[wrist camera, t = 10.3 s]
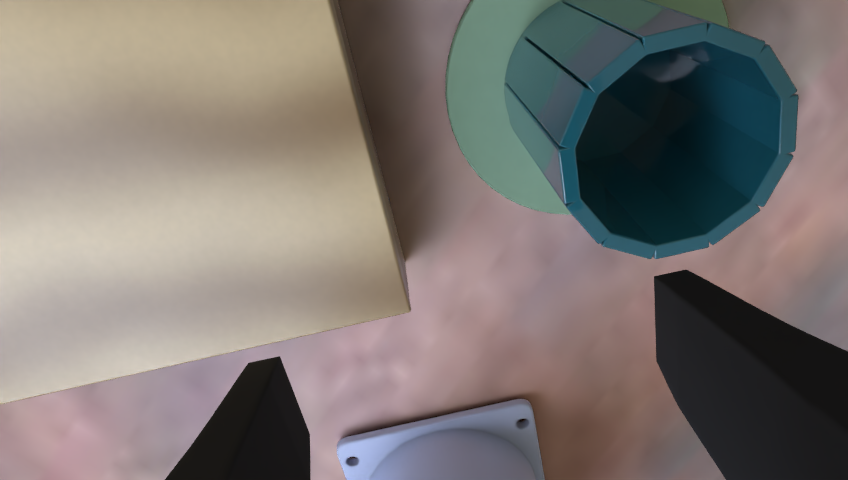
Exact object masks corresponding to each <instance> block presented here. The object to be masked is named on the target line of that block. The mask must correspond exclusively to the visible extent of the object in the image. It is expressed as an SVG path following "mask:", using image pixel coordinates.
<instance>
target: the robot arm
mask: <svg viewBox="0 0 848 480" xmlns="http://www.w3.org/2000/svg"><path fill="white" fill-rule="evenodd" d="M654 291H655V325H656V359H657V363H658V365H659V367H660V369H661V371H662V374H663V376H664V378H665V380H666V382H667V384H668V386H669V388H670V390H671V392H672V394H673V396H674V399H675V401H676V403H677V405H678V406H679V408H680V410H681V411H682V413H683V414H684V416H685V418H686V419H687V421H688V422H689V424H690V425H691V427H692V428H693V430H694V431H695V433H696V435H697V436H698V438H699V439H700V441H701V442H702V444H703V445H704V447H705V448H706V450H707V451H708V453H709V454H710V456H711V457H712V459H713V460H714V462H715V463H716V465H717V467H718V468H719V470H720V471H721V473H722V474H723V476H724V477H725V479H726V480H848V351H845V350H843V349H841V348H839V347H836V346H834V345H832V344H830V343H828V342H825V341H823V340H821V339H819V338H817V337H814V336H812V335H810V334H808V333H806V332H804V331H802V330H800V329H797V328H795V327H793V326H791V325H789V324H787V323H785V322H783V321H781V320H779V319H777V318H775V317H774V316H772V315H770V314H768V313H766V312H764V311H762V310H760V309H758V308H756V307H755V306H753V305H751V304H749V303H747V302H745V301H743V300H742V299H740V298H738V297H736V296H734V295H732V294H731V293H729V292H727V291H725V290H723V289H722V288H720V287H718V286H716V285H714V284H713V283H711V282H709V281H707V280H705V279H703V278H702V277H700V276H698V275H696V274H694V273H692V272H690V271H688V270H682V271H677V272H673V273H668V274H663V275H659V276H654ZM520 419H525V420H524V421H522V422H518V420H520ZM337 455H338V458H339V461H340V463H341V466H342V469H343V471H344V474H345V477H346V480H545V477H544V472H543V466H542V460H541V454H540V449H539V443H538V437H537V431H536V425H535V420H534V414H533V409H532V406H531V404H530V402H529V401H527V400H525V399H515V400H511V401H506V402H502V403H497V404H493V405H488V406H484V407H479V408H475V409H470V410H466V411H461V412H457V413H452V414H448V415H443V416H439V417H434V418H430V419H425V420H421V421H416V422H412V423H407V424H403V425H398V426H394V427H389V428H385V429H380V430H376V431H371V432H367V433H362V434H358V435H353V436H349V437H345V438H343V439H341V440H340V441H339V442H338V444H337ZM349 457H357V458H355V459H350V458H349ZM165 480H310V434H309V431H308V429H307V426H306V423H305V421H304V418H303V416H302V413H301V410H300V408H299V405H298V403H297V400H296V397H295V395H294V392H293V390H292V387H291V384H290V382H289V379H288V377H287V374H286V371H285V369H284V366H283V364H282V361H281V358H280V356H279V357H275V358H270V359H265V360H260V361H256V362H251V363H248V365H247V366H246V367H245V369H244V370H243V372H242V373H241V375H240V376H239V377H238V379H237V380H236V382H235V383H234V385H233V386H232V388H231V389H230V391H229V392H228V394H227V395H226V397H225V398H224V399H223V401H222V402H221V404H220V405H219V407H218V408H217V410H216V411H215V413H214V414H213V416H212V417H211V419H210V420H209V421H208V423H207V424H206V426H205V427H204V428H203V430H202V431H201V433H200V434H199V436H198V437H197V438H196V440H195V441H194V443H193V444H192V445H191V447H190V448H189V449H188V451H187V452H186V453H185V455H184V456H183V457H182V458H181V460H180V461H179V462H178V464H177V465H176V466H175V467H174V469H173V470H172V471H171V473H170V474H169V475H168V476H167V478H166V479H165Z"/></svg>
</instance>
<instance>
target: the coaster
mask: <svg viewBox="0 0 848 480" xmlns="http://www.w3.org/2000/svg"><path fill="white" fill-rule="evenodd" d="M558 1H560V0H471V1H470V3H469V5H468V7H467V9H466V10H465V12H464V14H463V16H462V18H461V20H460V22H459V25H458V27H457V30H456V32H455V35H454V37H453V41H452V44H451V48H450V52H449V56H448V62H447V69H446V86H445V95H446V103H447V111H448V116H449V120H450V123H451V127H452V131H453V133H454V135H455V138H456V140H457V142H458V145H459V147H460V149H461V151H462V153H463V154H464V156H465V158H466V159H467V161H468V163H469V164H470V166H471V167H472V168H473V169H474V170H475V172H476V173H477V174H478V175H479V177H480V178H481V179H483V180H484V181H485V182H486V183H487V184H488V185H489V186H490V187H491V188H492V189H494V190H495V191H497V192H498V193H500V194H501V195H503V196H504V197H506V198H507V199H509V200H511V201H513V202H515V203H517V204H519V205H522V206H525V207H528V208H531V209H534V210H538V211H542V212H547V213H554V214H567V215H569V214H571V213H570V212H569V211H568V209H567V208H566V207H565V205H564V204H563V202H562V201H561V199H560V198H559V197H558V195H557V194H556V192H555V191H554V189H553V188H552V186H551V185H550V183H549V182H548V180H547V179H546V178H545V176H544V175H543V173H542V172H541V170H540V169H539V167H538V166H537V164H536V163H535V161H534V160H533V158H532V157H531V156H530V154H529V153H528V151H527V150H526V148H525V147H524V145H523V144H522V142H521V141H520V139H519V138H518V137H517V135H516V134H515V132H514V131H513V129H512V126H511V125H510V121H509V115H508V112H507V108H506V103H505V94H504V83H505V75H506V69H507V65H508V62H509V59H510V56H511V54H512V51H513V49H514V47H515V45H516V43H517V41H518V40H519V38H520V36H521V35H522V33H523V32H524V31H525V29H526V28H527V27H528V26H529V24H530V23H531V22H532V21H533V20H534V19H535V18H536V17H537V16H538V15H540V14H541V13H542V12H543V11H545V10H546V9H547V8H548V7H550V6H552V5H553V4H555V3H556V2H558ZM647 1H650V2H653V3H656V4H659V5H662V6H665V7H668V8H671V9H674V10H677V11H680V12H683V13H686V14H690V15H693V16H696V17H699V18H702V19H705V20H708V21H711V22H714V23H716V24H719V25H722V26H725V27H727V28H729V25H728V20H727V15H726V12H725V9H724V6H723V3H722V0H647Z"/></svg>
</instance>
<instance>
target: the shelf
mask: <svg viewBox="0 0 848 480" xmlns="http://www.w3.org/2000/svg"><path fill="white" fill-rule="evenodd" d="M408 291H409V290H408V282H407V275H406V267H405V261H404V257H403V253H402V249H401V245H400V241H399V237H398V234H397V230H396V226H395V222H394V218H393V214H392V210H391V206H390V202H389V198H388V195H387V191H386V187H385V183H384V179H383V175H382V171H381V167H380V163H379V159H378V156H377V152H376V148H375V144H374V140H373V136H372V132H371V128H370V124H369V120H368V117H367V113H366V109H365V105H364V101H363V97H362V93H361V89H360V85H359V81H358V78H357V74H356V70H355V66H354V62H353V58H352V54H351V50H350V46H349V42H348V39H347V35H346V31H345V27H344V23H343V19H342V15H341V11H340V7H339V3H338V0H0V404H5V403H9V402H14V401H18V400H23V399H27V398H31V397H36V396H40V395H45V394H49V393H54V392H58V391H62V390H67V389H71V388H76V387H80V386H85V385H89V384H93V383H98V382H102V381H107V380H111V379H116V378H120V377H125V376H129V375H133V374H138V373H142V372H147V371H151V370H156V369H160V368H164V367H169V366H173V365H178V364H182V363H187V362H191V361H196V360H200V359H204V358H209V357H213V356H218V355H222V354H227V353H231V352H235V351H240V350H244V349H249V348H253V347H258V346H262V345H267V344H271V343H275V342H280V341H284V340H289V339H293V338H298V337H302V336H306V335H311V334H315V333H320V332H324V331H329V330H333V329H337V328H342V327H346V326H351V325H355V324H360V323H364V322H369V321H373V320H377V319H382V318H386V317H391V316H395V315H400V314H404V313H408V312H410V310H411V307H410V299H409V292H408Z"/></svg>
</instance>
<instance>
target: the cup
mask: <svg viewBox="0 0 848 480" xmlns="http://www.w3.org/2000/svg"><path fill="white" fill-rule="evenodd" d="M796 92H797V89H796V87H795V86H794V84H793V83H792V81H791V79H790V78H789V76H788V74H787V73H786V71H785V69H784V68H783V66H782V65H781V63H780V61H779V60H778V58H777V56H776V55H775V53H774V52H773V50H772V48H771V47H770V45H768V44H765V41H763V40H760V39H758V38H755V37H752V36H749V35H747V34H744V33H741V32H738V31H736V30H733V29H730V28H727V27H725V26H722V25H719V24H716V23H714V22H711V21H708V20H705V19H702V18H699V17H696V16H693V15H690V14H686V13H683V12H680V11H677V10H674V9H671V8H668V7H665V6H662V5H659V4H656V3H653V2H650V1H647V0H560V1H558V2H556V3H555V4H553V5H552V6H550V7H548V8H547V9H546V10H545V11H543V12H542V13H541V14H540V15H538V16H537V17H536V18H535V19H534V20H533V21H532V22H531V23H530V24H529V26H528V27H527V28H526V29H525V31H524V32H523V33H522V35H521V36H520V38H519V40H518V41H517V43H516V45H515V47H514V49H513V51H512V54H511V56H510V59H509V62H508V65H507V69H506V75H505V83H504V94H505V103H506V108H507V112H508V115H509V121H510V125H511V126H512V129H513V131H514V132H515V134H516V135H517V137H518V138H519V139H520V141H521V142H522V144H523V145H524V147H525V148H526V150H527V151H528V153H529V154H530V156H531V157H532V158H533V160H534V161H535V163H536V164H537V166H538V167H539V169H540V170H541V172H542V173H543V175H544V176H545V178H546V179H547V180H548V182H549V183H550V185H551V186H552V188H553V189H554V191H555V192H556V194H557V195H558V197H559V198H560V199H561V201H562V202H563V204H564V205H565V207H566V208H567V209H568V211H569V212H570V213H571V214H572V215H573V216H574V217H575V218H576V220H577V221H578V222H579V223H580V224H581V225H582V226H583V227H584V229H585V230H586V231H587V232H588V233H589V234H590V235H591V237H592V238H593V239H594V240H595V241H596V242H597V243H598V244H601V245H602V246H603V247H607V248H610V249H614V250H618V251H622V252H625V253H629V254H633V255H637V256H640V257H644V258H648V259H651V258H652V257H654V258H655V259H659V258H663V257H668V256H672V255H677V254H681V253H686V252H690V251H694V250H699V249H703V248H708V247H709V242H710V243H711V244H712V245H714V244H716V243H717V242H718V241H720V240H721V239H722V238H724V237H725V236H727V235H728V234H729V233H731V232H732V231H733V230H735V229H736V228H737V227H739V226H740V225H741V224H743V223H744V222H746V221H747V220H748V219H750V218H751V217H752V216H754V215H755V214H756V213H758V212H759V211H760V208H759V207H758V206H761V207H764V206H765V204H766V202H767V201H768V199H769V197H770V196H771V194H772V192H773V190H774V189H775V187H776V185H777V184H778V182H779V180H780V179H781V177H782V175H783V174H784V172H785V170H786V168H787V167H788V165H789V163H790V162H791V160H792V158H793V155H792V154H791V152H794V151H795V148H796V131H797V113H798V95H797V94H795V93H796Z"/></svg>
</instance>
